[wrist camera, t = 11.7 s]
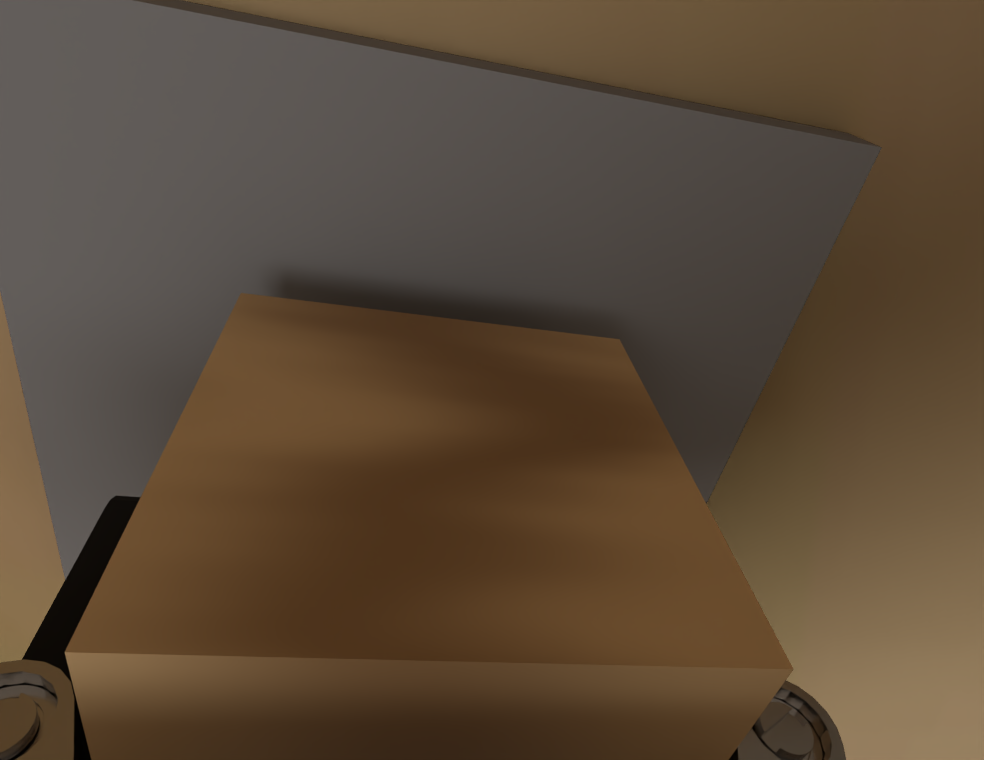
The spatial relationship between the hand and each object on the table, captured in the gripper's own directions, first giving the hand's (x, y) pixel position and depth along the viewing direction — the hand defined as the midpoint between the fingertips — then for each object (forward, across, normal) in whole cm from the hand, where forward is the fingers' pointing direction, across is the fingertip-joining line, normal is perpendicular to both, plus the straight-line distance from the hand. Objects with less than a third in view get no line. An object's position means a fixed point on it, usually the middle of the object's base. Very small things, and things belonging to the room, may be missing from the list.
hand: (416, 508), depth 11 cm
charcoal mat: (+4, 0, 0) cm, 4 cm away
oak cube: (+1, 0, 0) cm, 1 cm away
